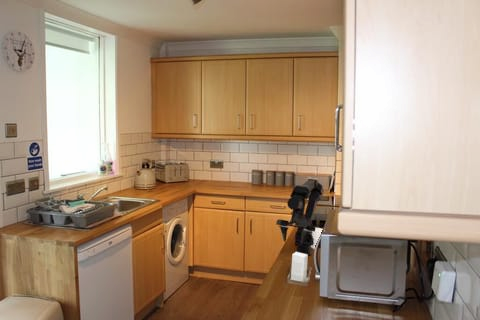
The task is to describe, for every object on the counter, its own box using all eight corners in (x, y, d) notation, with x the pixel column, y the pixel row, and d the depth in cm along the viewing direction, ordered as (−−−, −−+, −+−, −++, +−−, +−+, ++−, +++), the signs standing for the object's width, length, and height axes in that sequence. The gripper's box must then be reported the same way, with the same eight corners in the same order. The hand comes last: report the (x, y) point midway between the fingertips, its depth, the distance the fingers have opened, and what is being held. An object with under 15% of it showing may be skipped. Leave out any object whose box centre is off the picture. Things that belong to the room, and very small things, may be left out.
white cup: (323, 250, 232) (324, 232, 231) (308, 248, 234) (309, 231, 232) (323, 245, 240) (324, 228, 239) (308, 243, 241) (310, 226, 240)
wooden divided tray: (291, 267, 206) (292, 264, 206) (311, 270, 204) (311, 267, 204) (286, 283, 189) (286, 279, 189) (308, 286, 187) (308, 283, 186)
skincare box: (306, 279, 193) (308, 254, 191) (302, 282, 189) (304, 257, 187) (294, 276, 196) (295, 251, 194) (290, 279, 192) (292, 254, 190)
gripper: (288, 208, 198) (282, 242, 196) (323, 215, 203) (318, 248, 201) (278, 207, 208) (273, 239, 206) (312, 214, 214) (307, 245, 212)
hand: (293, 243), depth 206 cm, fingers open, 9 cm apart
